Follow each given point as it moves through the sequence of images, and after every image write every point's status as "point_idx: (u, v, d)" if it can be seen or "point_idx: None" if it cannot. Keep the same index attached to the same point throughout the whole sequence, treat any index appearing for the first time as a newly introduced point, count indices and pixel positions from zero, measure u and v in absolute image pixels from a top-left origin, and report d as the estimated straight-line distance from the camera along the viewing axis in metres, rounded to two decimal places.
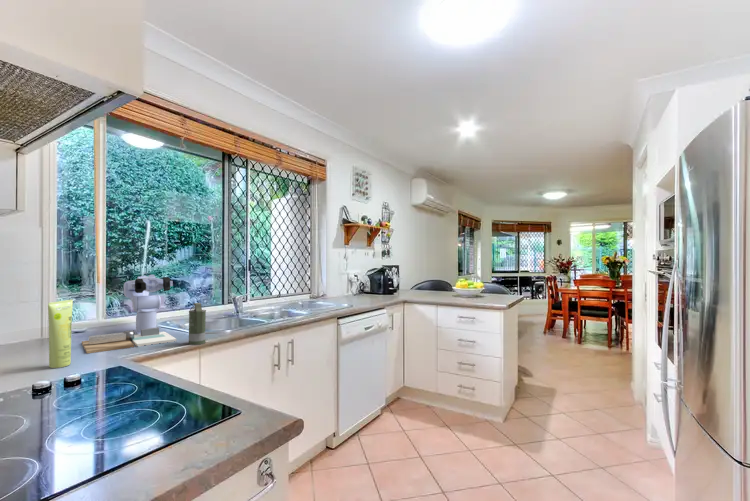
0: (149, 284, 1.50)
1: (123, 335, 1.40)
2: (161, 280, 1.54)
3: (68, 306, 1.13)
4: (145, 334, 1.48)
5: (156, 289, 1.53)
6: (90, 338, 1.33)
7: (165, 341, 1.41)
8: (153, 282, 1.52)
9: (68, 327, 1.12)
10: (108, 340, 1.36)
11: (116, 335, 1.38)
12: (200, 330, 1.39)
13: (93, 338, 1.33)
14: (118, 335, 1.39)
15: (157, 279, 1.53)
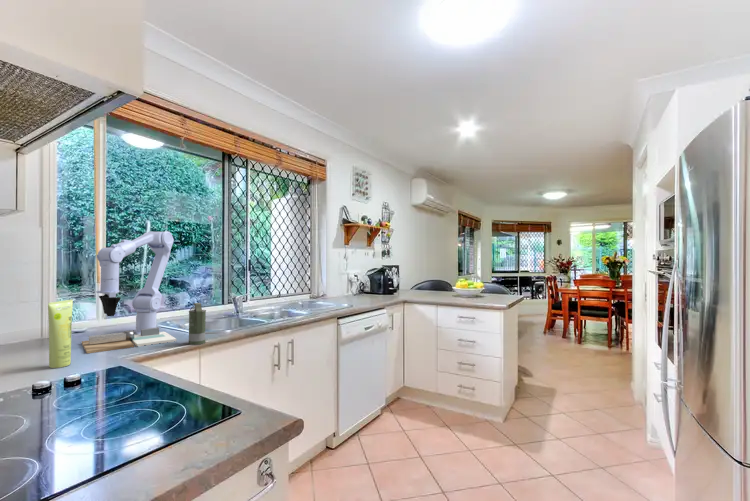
0: (108, 295, 1.43)
1: (123, 335, 1.40)
2: (106, 293, 1.39)
3: (68, 306, 1.13)
4: (145, 334, 1.48)
5: None
6: (90, 338, 1.33)
7: (165, 341, 1.41)
8: None
9: (68, 327, 1.12)
10: (108, 340, 1.36)
11: (116, 335, 1.38)
12: (200, 330, 1.39)
13: (93, 338, 1.33)
14: (118, 335, 1.39)
15: None
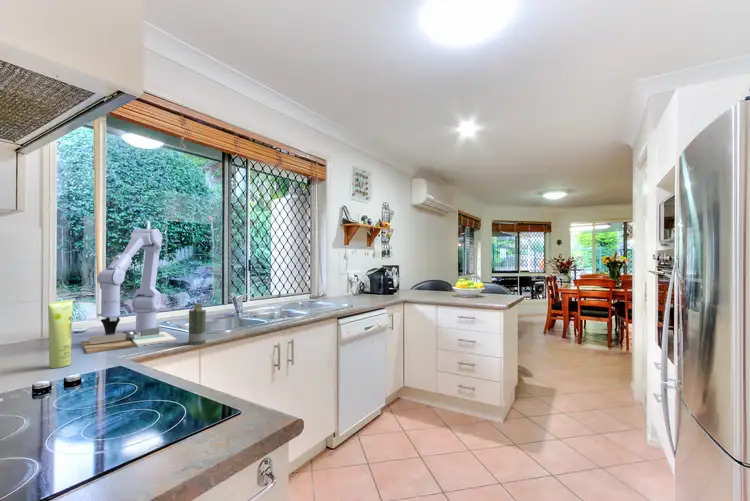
0: None
1: (123, 335, 1.40)
2: (106, 316, 1.36)
3: (68, 306, 1.13)
4: (145, 334, 1.48)
5: None
6: (90, 338, 1.33)
7: (165, 341, 1.41)
8: None
9: (68, 327, 1.12)
10: (108, 340, 1.36)
11: (116, 335, 1.38)
12: (200, 330, 1.39)
13: (93, 338, 1.33)
14: (118, 335, 1.39)
15: None
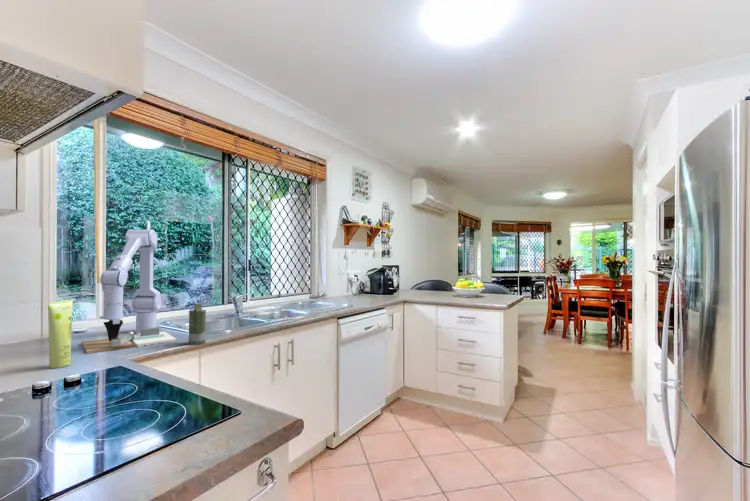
0: None
1: (131, 335, 1.40)
2: (109, 319, 1.31)
3: (68, 306, 1.13)
4: (145, 334, 1.48)
5: None
6: (120, 340, 1.31)
7: (165, 341, 1.41)
8: None
9: (68, 327, 1.12)
10: (126, 341, 1.36)
11: (128, 335, 1.38)
12: (200, 330, 1.39)
13: (121, 339, 1.32)
14: (129, 335, 1.39)
15: None
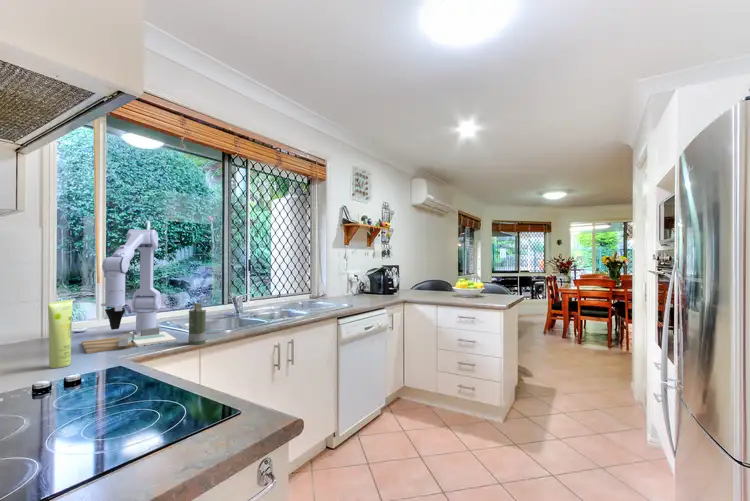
0: (113, 308, 1.33)
1: (132, 334, 1.41)
2: (111, 306, 1.29)
3: (68, 306, 1.13)
4: (145, 334, 1.48)
5: None
6: (128, 339, 1.32)
7: (165, 341, 1.41)
8: None
9: (68, 327, 1.12)
10: (130, 340, 1.37)
11: (131, 335, 1.39)
12: (200, 330, 1.39)
13: (128, 339, 1.33)
14: (131, 335, 1.39)
15: None
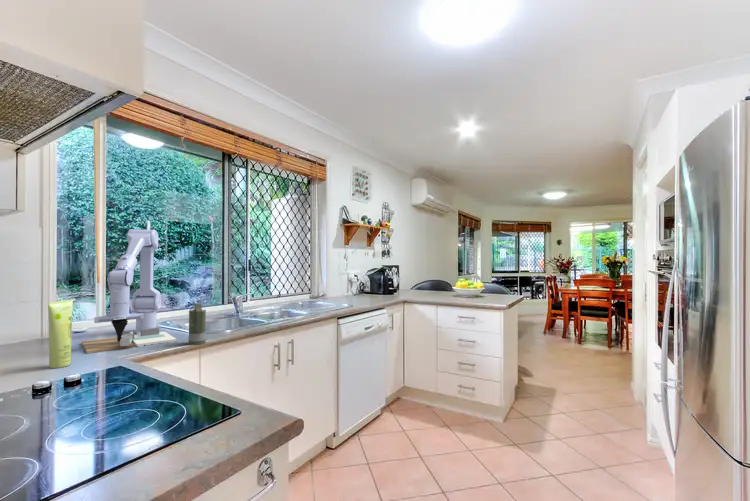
0: None
1: (132, 334, 1.41)
2: (131, 317, 1.36)
3: (68, 306, 1.13)
4: (145, 334, 1.48)
5: None
6: (129, 339, 1.32)
7: (165, 341, 1.41)
8: None
9: (68, 327, 1.12)
10: (131, 340, 1.37)
11: (131, 335, 1.39)
12: (200, 330, 1.39)
13: (129, 339, 1.33)
14: (132, 335, 1.39)
15: (126, 317, 1.35)
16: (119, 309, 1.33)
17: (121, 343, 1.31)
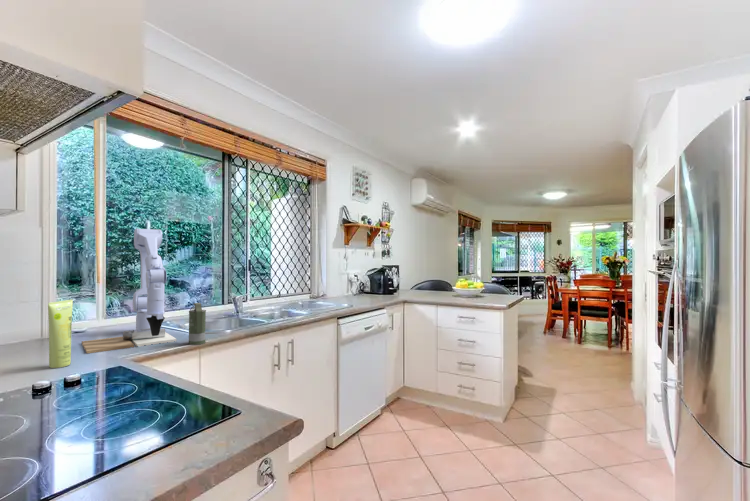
0: None
1: None
2: (153, 315, 1.41)
3: (68, 306, 1.13)
4: None
5: None
6: None
7: (165, 341, 1.41)
8: None
9: (68, 327, 1.12)
10: None
11: None
12: (200, 330, 1.39)
13: None
14: None
15: None
16: (147, 305, 1.43)
17: None
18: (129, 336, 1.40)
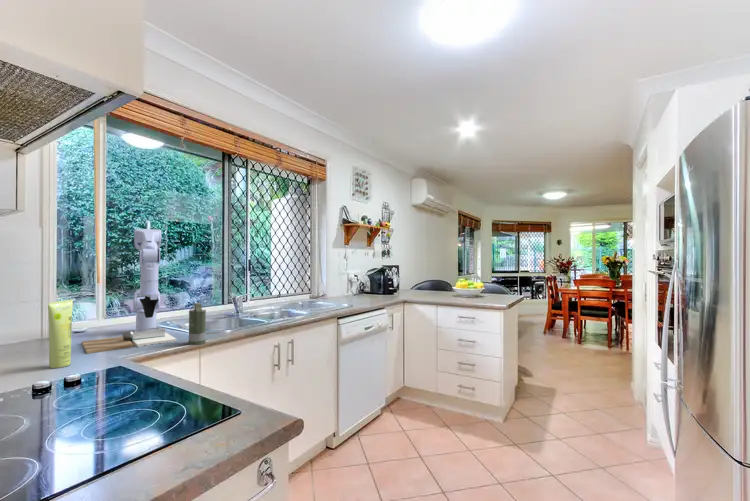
0: None
1: None
2: (146, 295, 1.36)
3: (68, 306, 1.13)
4: None
5: None
6: None
7: (165, 341, 1.41)
8: None
9: (68, 327, 1.12)
10: None
11: None
12: (200, 330, 1.39)
13: None
14: None
15: (144, 295, 1.37)
16: (140, 286, 1.38)
17: None
18: (130, 336, 1.41)
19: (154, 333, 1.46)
